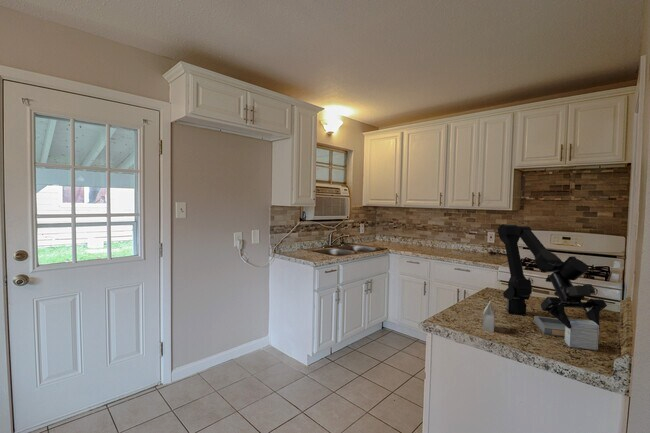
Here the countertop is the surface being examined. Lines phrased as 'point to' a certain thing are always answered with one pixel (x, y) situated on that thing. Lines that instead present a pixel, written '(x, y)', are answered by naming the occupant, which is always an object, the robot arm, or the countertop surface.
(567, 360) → the countertop surface
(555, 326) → the tray
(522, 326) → the countertop surface
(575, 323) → the medicine box
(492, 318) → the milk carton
